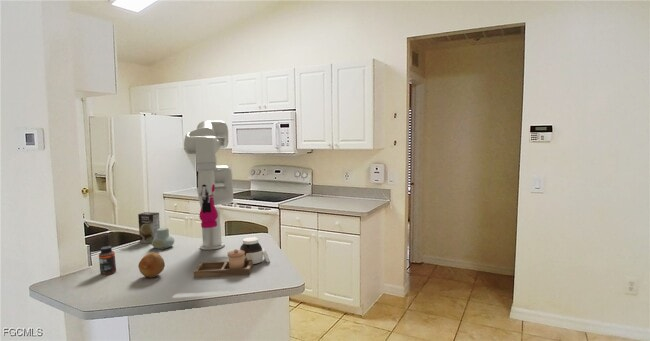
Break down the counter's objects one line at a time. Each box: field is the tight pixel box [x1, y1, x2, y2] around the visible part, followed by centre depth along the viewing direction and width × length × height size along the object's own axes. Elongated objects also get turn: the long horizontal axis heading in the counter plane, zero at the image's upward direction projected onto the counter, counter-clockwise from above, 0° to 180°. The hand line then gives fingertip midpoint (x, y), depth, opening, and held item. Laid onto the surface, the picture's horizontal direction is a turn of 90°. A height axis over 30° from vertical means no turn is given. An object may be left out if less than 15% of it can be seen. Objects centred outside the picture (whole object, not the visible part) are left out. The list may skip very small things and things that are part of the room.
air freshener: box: [151, 227, 175, 250], centre depth 198 cm, size 11×8×10 cm
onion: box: [137, 251, 166, 278], centre depth 156 cm, size 10×10×10 cm
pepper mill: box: [199, 184, 218, 229], centre depth 153 cm, size 7×7×20 cm
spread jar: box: [239, 236, 271, 266], centre depth 168 cm, size 12×11×12 cm
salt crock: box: [227, 249, 245, 269], centre depth 156 cm, size 7×7×9 cm
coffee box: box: [137, 211, 161, 244], centre depth 210 cm, size 9×6×16 cm
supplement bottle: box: [98, 245, 117, 276], centre depth 161 cm, size 6×6×11 cm
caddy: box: [193, 260, 254, 279], centre depth 156 cm, size 11×22×4 cm, turn 95°
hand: (208, 210), depth 154 cm, fingers closed on pepper mill, 5 cm apart
